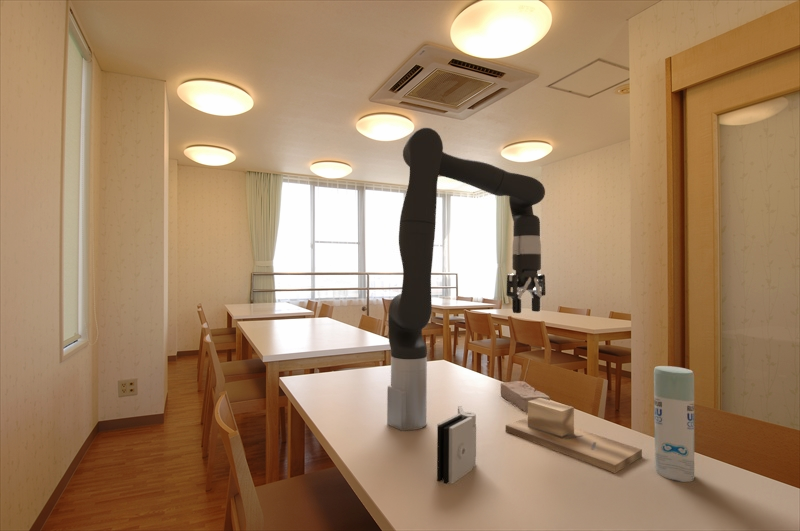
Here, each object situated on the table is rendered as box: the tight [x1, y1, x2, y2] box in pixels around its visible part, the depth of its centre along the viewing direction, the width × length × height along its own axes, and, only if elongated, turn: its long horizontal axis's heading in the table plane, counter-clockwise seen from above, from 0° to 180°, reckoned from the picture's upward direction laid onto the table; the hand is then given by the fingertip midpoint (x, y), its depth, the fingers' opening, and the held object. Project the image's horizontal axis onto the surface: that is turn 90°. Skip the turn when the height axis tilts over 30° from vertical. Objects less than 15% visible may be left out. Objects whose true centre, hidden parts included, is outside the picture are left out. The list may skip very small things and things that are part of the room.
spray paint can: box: [653, 365, 695, 483], centre depth 78 cm, size 6×6×20 cm
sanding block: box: [527, 398, 575, 438], centre depth 96 cm, size 5×9×6 cm, turn 37°
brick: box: [500, 380, 551, 413], centre depth 122 cm, size 17×8×5 cm, turn 11°
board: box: [505, 417, 643, 474], centre depth 92 cm, size 12×26×2 cm, turn 37°
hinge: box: [436, 405, 477, 485], centre depth 80 cm, size 14×5×10 cm, turn 153°
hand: (526, 312), depth 111 cm, fingers open, 8 cm apart
